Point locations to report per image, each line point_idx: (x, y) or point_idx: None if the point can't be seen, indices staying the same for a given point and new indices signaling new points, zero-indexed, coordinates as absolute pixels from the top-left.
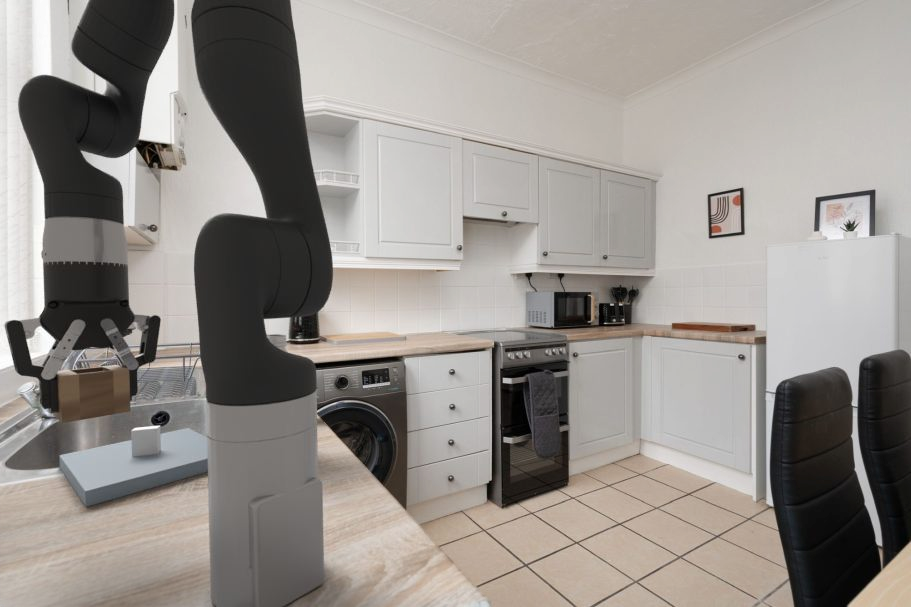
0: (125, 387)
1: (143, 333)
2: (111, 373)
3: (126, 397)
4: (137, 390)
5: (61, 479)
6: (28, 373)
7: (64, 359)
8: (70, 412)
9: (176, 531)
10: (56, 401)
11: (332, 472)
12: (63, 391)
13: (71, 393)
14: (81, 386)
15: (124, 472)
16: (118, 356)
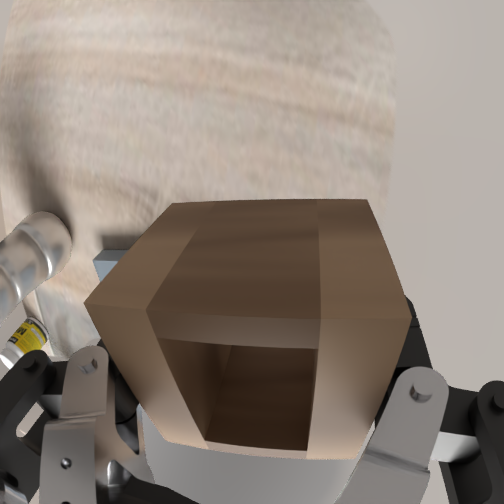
0: (143, 250)
1: (21, 481)
2: (159, 299)
3: (159, 226)
4: None
5: None
6: (489, 389)
7: (369, 453)
8: (346, 214)
9: (201, 53)
10: None
11: (16, 119)
12: (382, 264)
13: (351, 251)
14: (310, 270)
15: None
16: (132, 443)
